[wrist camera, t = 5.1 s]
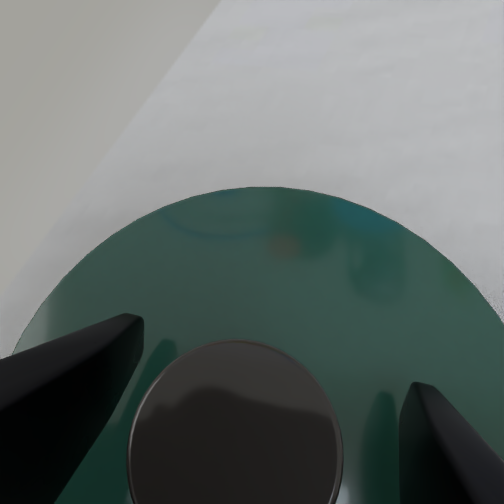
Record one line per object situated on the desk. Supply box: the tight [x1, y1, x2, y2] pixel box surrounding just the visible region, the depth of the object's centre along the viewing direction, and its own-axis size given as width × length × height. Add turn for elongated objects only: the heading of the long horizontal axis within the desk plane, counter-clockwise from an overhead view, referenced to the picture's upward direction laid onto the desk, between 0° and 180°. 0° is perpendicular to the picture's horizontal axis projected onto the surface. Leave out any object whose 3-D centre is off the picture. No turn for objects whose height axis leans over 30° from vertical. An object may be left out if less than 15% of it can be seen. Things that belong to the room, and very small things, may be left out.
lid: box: [12, 187, 504, 504], centre depth 7 cm, size 13×13×6 cm
